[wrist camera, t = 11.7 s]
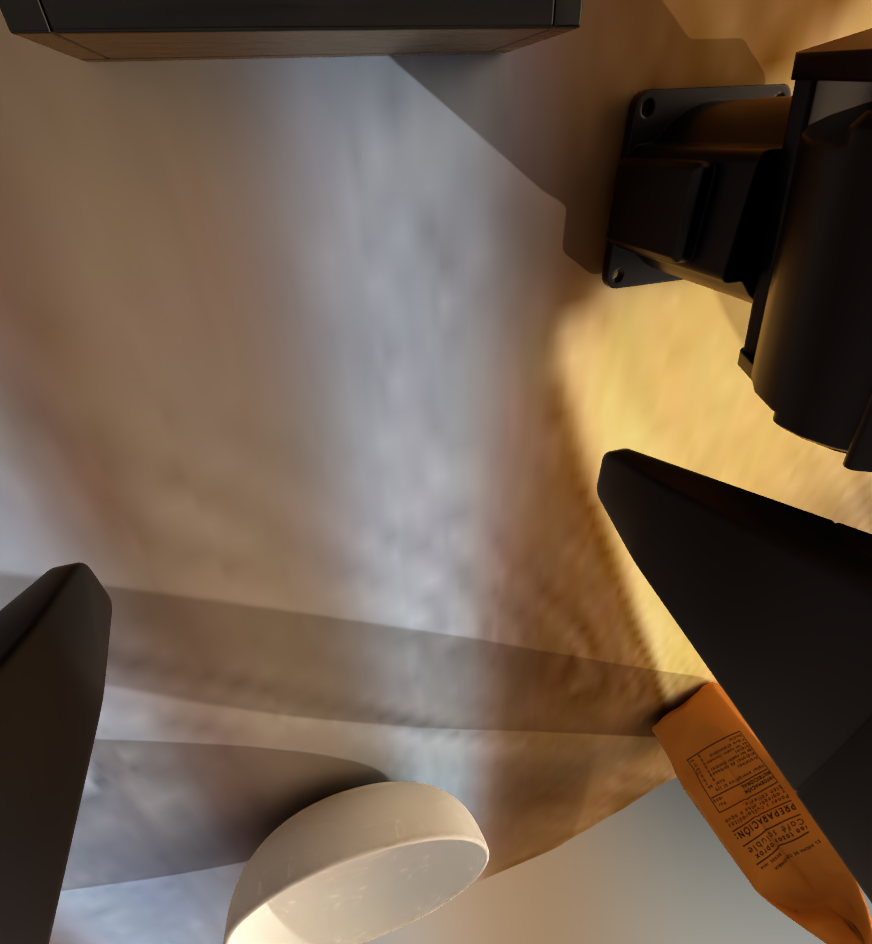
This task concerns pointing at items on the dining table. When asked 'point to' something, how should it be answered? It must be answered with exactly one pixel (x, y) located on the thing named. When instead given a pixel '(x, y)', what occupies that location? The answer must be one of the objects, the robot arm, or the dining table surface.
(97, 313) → the dining table surface
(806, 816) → the coffee package
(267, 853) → the serving bowl
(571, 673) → the dining table surface
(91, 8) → the bread tray
